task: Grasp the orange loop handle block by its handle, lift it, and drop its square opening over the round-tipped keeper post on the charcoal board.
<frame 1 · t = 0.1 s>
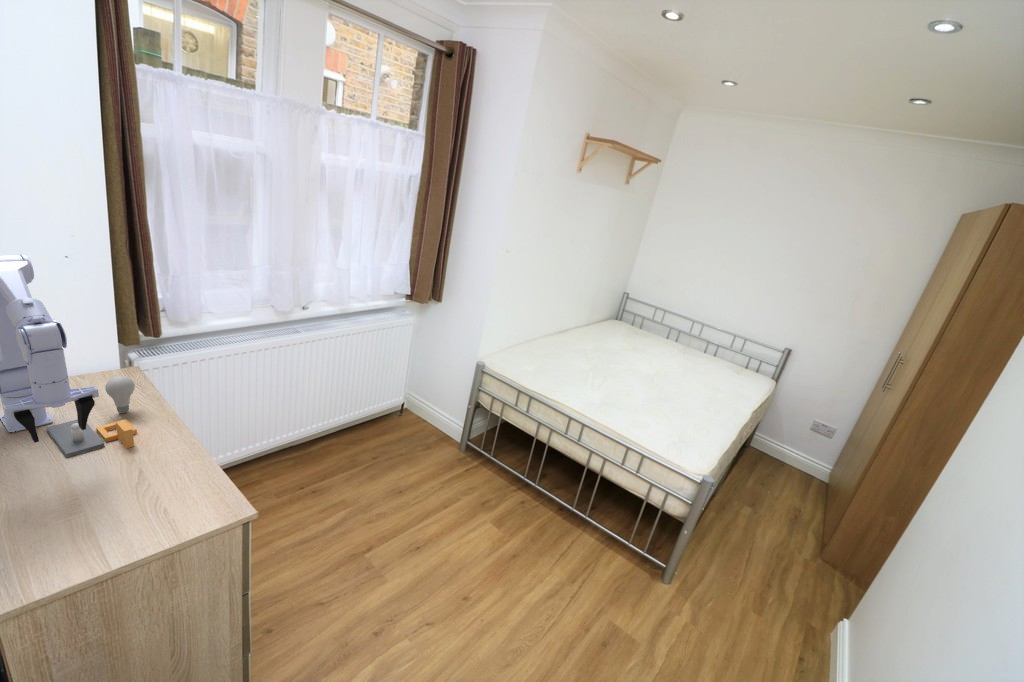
hand: (59, 433, 103), 10 cm above the dresser, tool pointing down, fingers open, 7 cm apart
lightbulb: (123, 413, 129), on the dresser
keeper board: (75, 438, 116), on the dresser
orange loop handle block: (116, 432, 121), on the dresser
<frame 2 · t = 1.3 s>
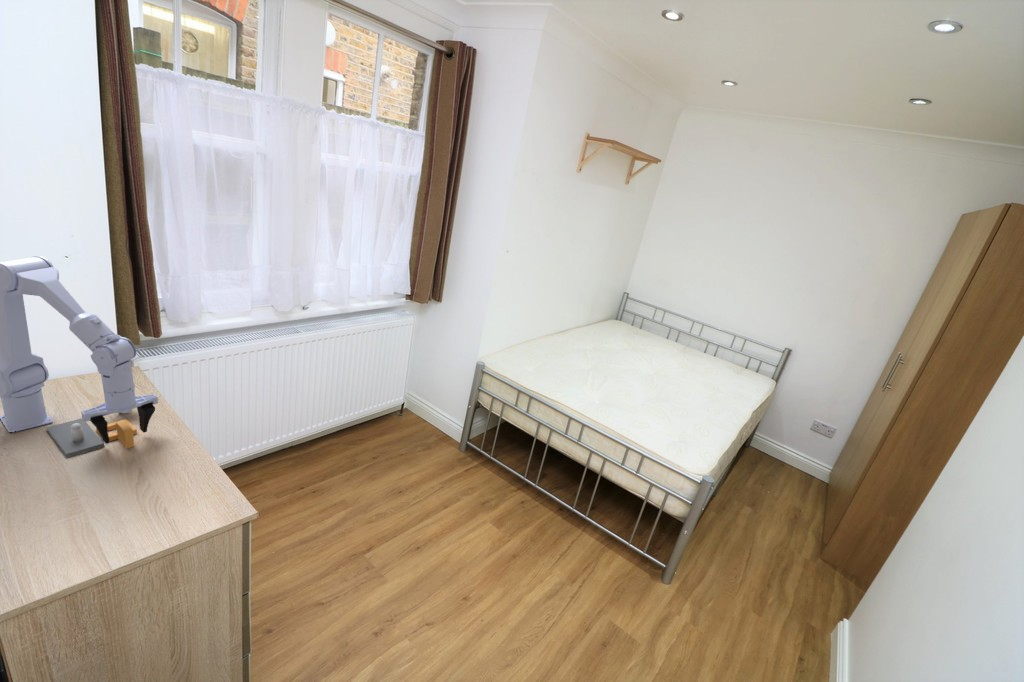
hand: (125, 435, 118), 2 cm above the dresser, tool pointing down, fingers open, 7 cm apart
nothing on the dresser moved.
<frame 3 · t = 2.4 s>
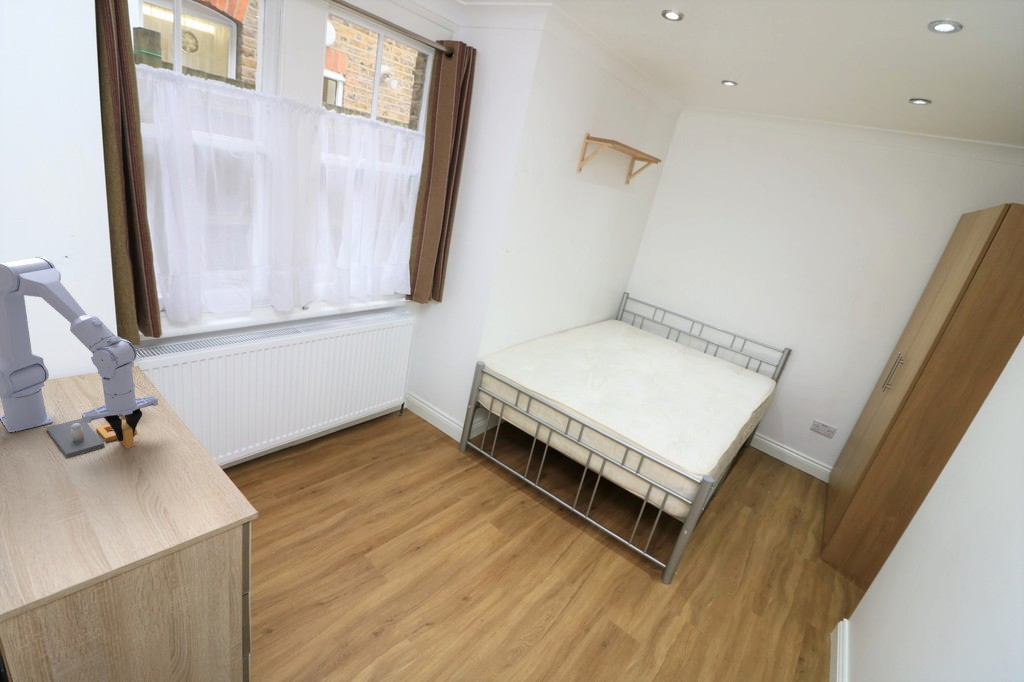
hand: (125, 437, 118), 1 cm above the dresser, tool pointing down, fingers closed on orange loop handle block
orange loop handle block: (116, 432, 121), on the dresser, touching gripper
everything else where it was.
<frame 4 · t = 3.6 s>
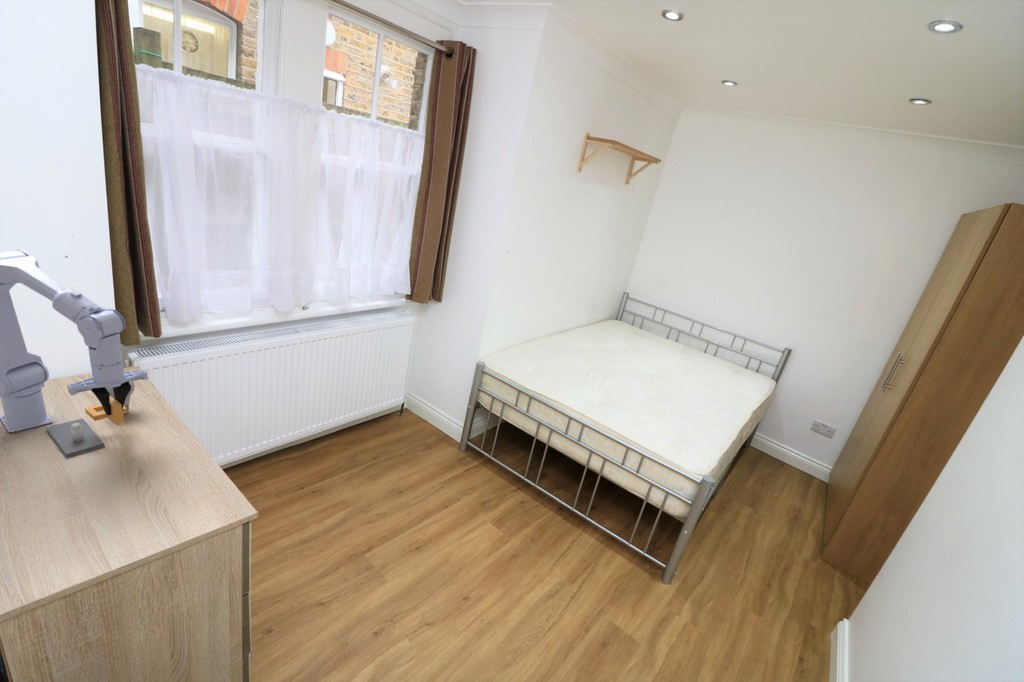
hand: (113, 412, 114), 9 cm above the dresser, tool pointing down, fingers closed on orange loop handle block
orange loop handle block: (106, 412, 117), point 7 cm above the dresser, tilted 6°, touching gripper
everything else where it was.
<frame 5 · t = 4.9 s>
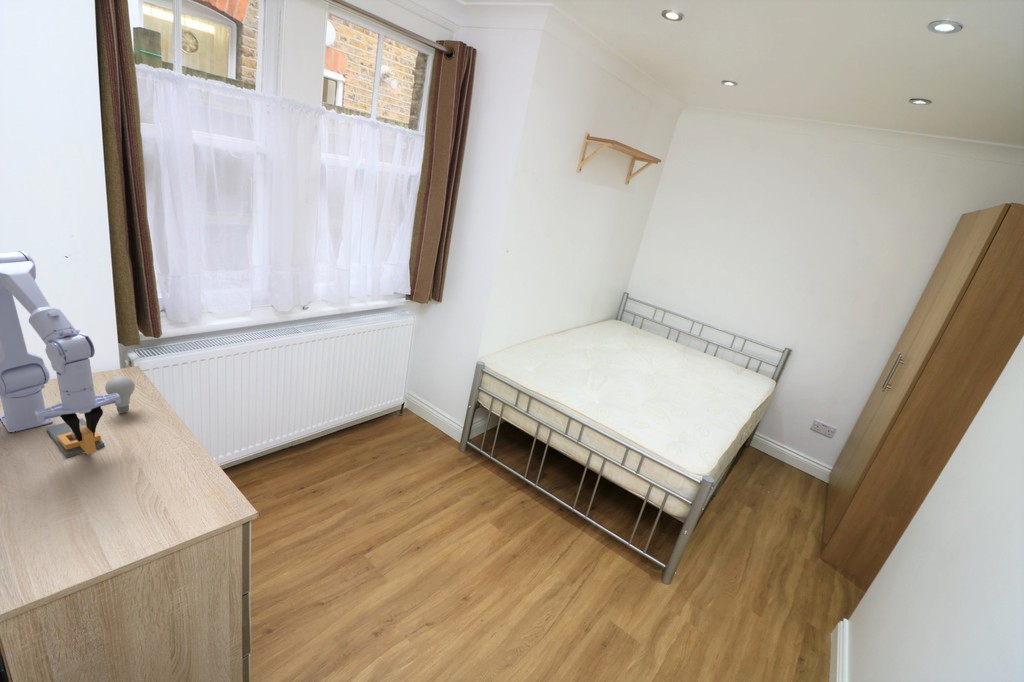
hand: (85, 437, 111), 5 cm above the dresser, tool pointing down, fingers closed on orange loop handle block
orange loop handle block: (79, 440, 114), point 1 cm above the dresser, tilted 5°, touching gripper, keeper board
everything else where it was.
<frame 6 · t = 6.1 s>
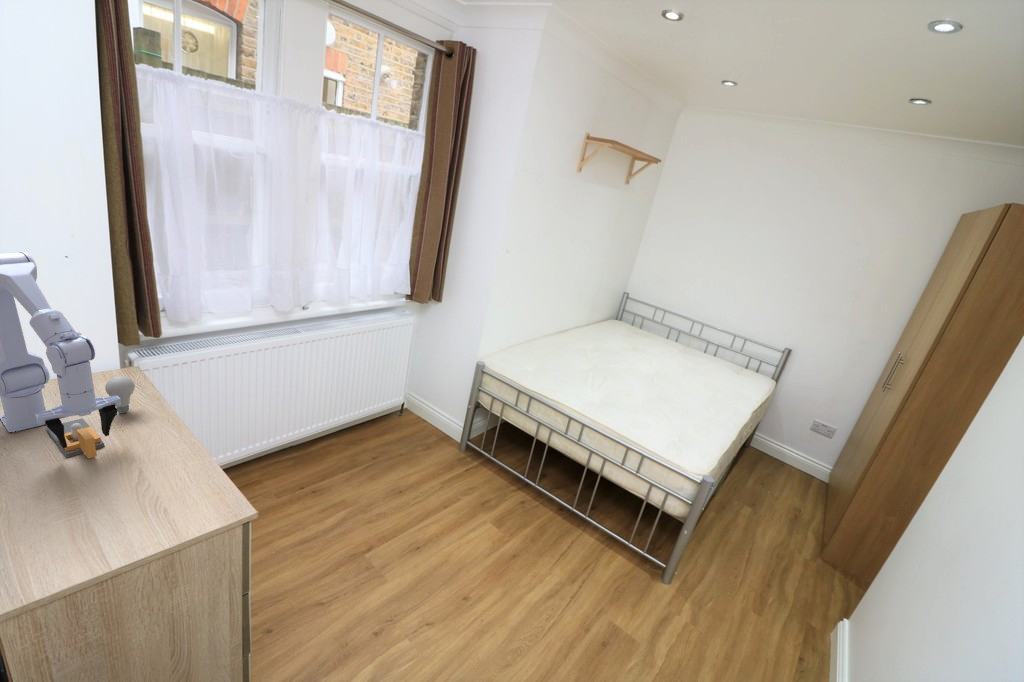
hand: (85, 439, 111), 4 cm above the dresser, tool pointing down, fingers open, 7 cm apart
orange loop handle block: (79, 440, 115), point 1 cm above the dresser, touching keeper board
everything else where it was.
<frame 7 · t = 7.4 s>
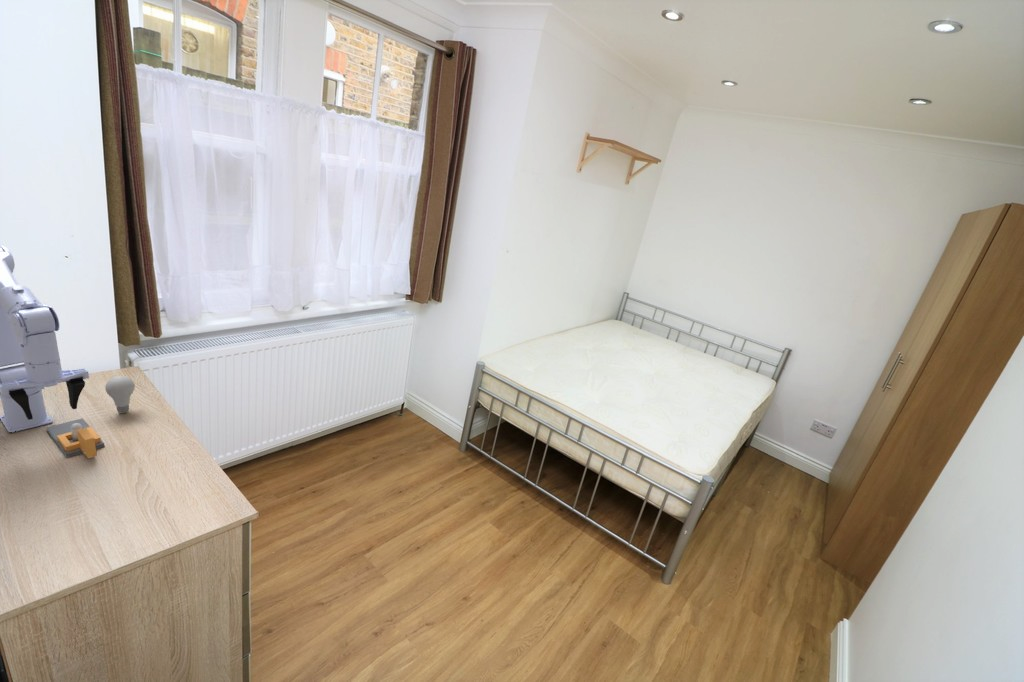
hand: (52, 412, 110), 9 cm above the dresser, tool pointing down, fingers open, 7 cm apart
nothing on the dresser moved.
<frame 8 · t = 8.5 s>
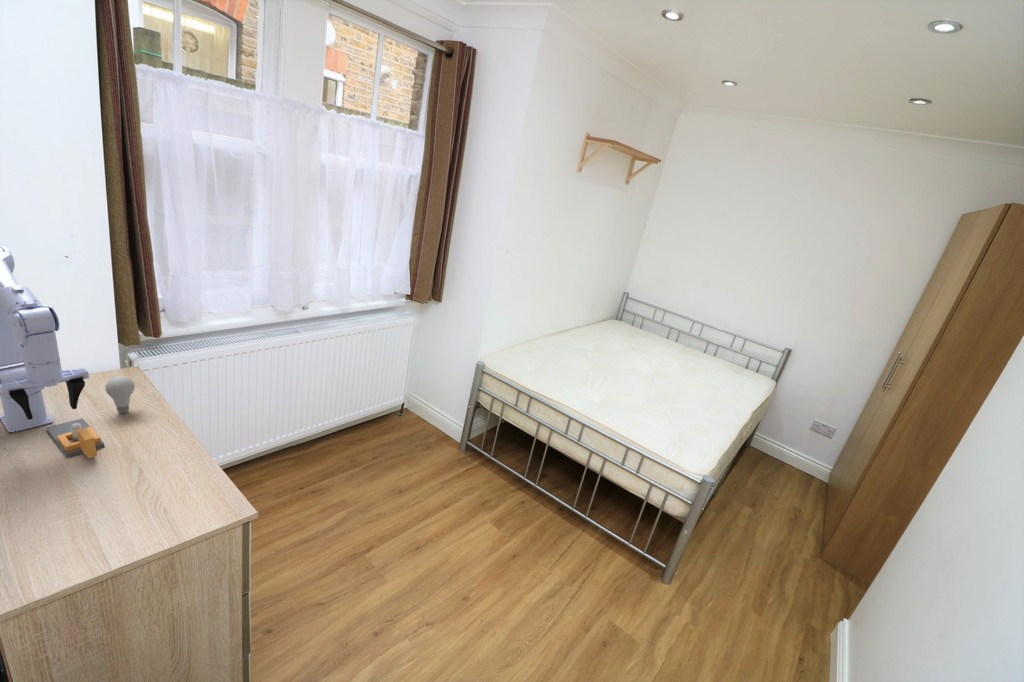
hand: (52, 412, 110), 9 cm above the dresser, tool pointing down, fingers open, 7 cm apart
nothing on the dresser moved.
at the end: orange loop handle block 0.8 cm from the target spot on the keeper board, point 1.0 cm above the keeper board's base; orange loop handle block tilted 0°; the gripper is holding nothing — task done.
